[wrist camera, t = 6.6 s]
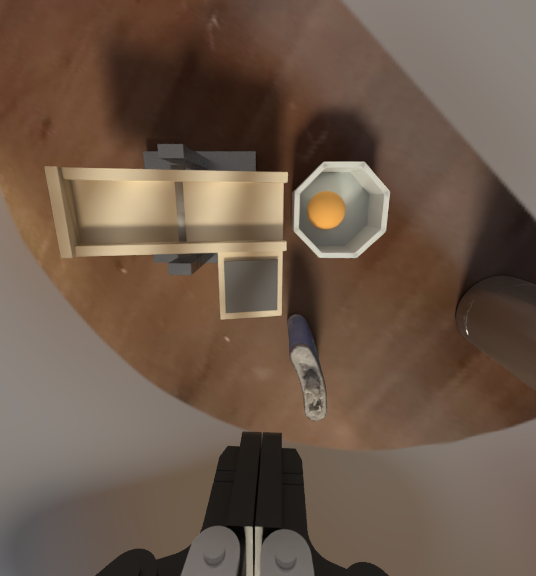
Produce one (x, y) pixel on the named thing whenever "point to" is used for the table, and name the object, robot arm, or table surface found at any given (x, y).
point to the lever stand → (195, 161)
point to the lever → (180, 223)
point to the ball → (326, 210)
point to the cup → (358, 209)
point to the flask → (307, 367)
